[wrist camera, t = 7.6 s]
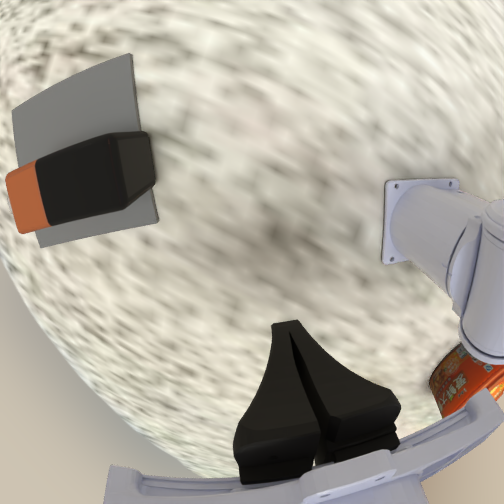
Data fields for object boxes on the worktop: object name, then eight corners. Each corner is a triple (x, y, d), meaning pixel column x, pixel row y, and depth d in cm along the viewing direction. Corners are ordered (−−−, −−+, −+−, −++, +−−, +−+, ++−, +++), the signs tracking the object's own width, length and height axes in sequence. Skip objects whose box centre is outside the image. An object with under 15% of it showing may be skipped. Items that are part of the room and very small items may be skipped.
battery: (127, 211, 13) (10, 239, 13) (158, 185, 19) (57, 209, 19) (112, 130, 11) (-6, 179, 11) (149, 129, 17) (46, 162, 17)
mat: (132, 54, 15) (129, 52, 15) (159, 220, 21) (157, 223, 20) (15, 110, 15) (11, 110, 14) (43, 245, 21) (40, 248, 20)
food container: (404, 396, 36) (428, 443, 26) (461, 324, 30) (500, 370, 20) (451, 389, 39) (473, 425, 29) (497, 329, 33) (528, 363, 23)
